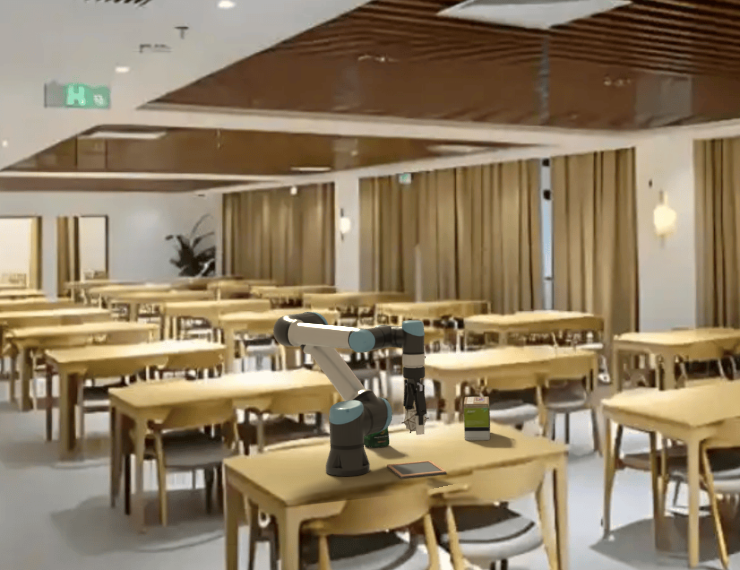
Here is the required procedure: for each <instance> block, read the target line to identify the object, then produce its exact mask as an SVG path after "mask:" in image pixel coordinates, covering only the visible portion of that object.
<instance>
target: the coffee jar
mask: <svg viewBox="0 0 740 570" xmlns="http://www.w3.org/2000/svg"><path fill="white" fill-rule="evenodd" d="M380 398H384V399H386V400H387V401H388V402H389V399H388V398H385V397H380ZM389 433H390V432H389V426H388V427H387V428H386V429H385V430H382V431H381V432H378V433H373V434H370V435H367V436H364V447H366V448H371V449H379V448H378V447H380V448H384V447H385V448H386V447H388V446H389V445H390V435H389Z"/></svg>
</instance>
